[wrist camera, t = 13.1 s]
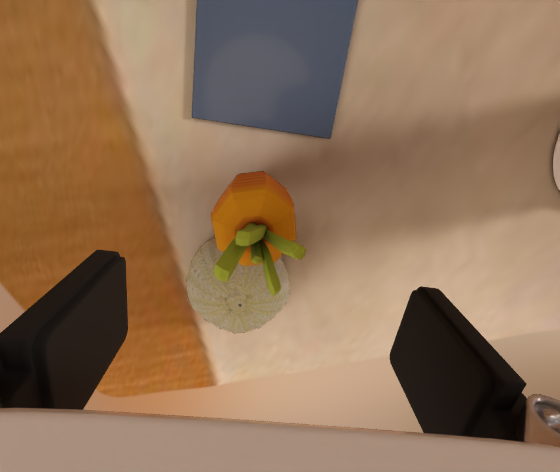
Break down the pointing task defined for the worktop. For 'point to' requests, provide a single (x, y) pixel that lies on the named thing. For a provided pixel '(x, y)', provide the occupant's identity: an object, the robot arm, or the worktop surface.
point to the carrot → (255, 227)
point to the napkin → (271, 62)
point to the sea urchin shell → (234, 292)
